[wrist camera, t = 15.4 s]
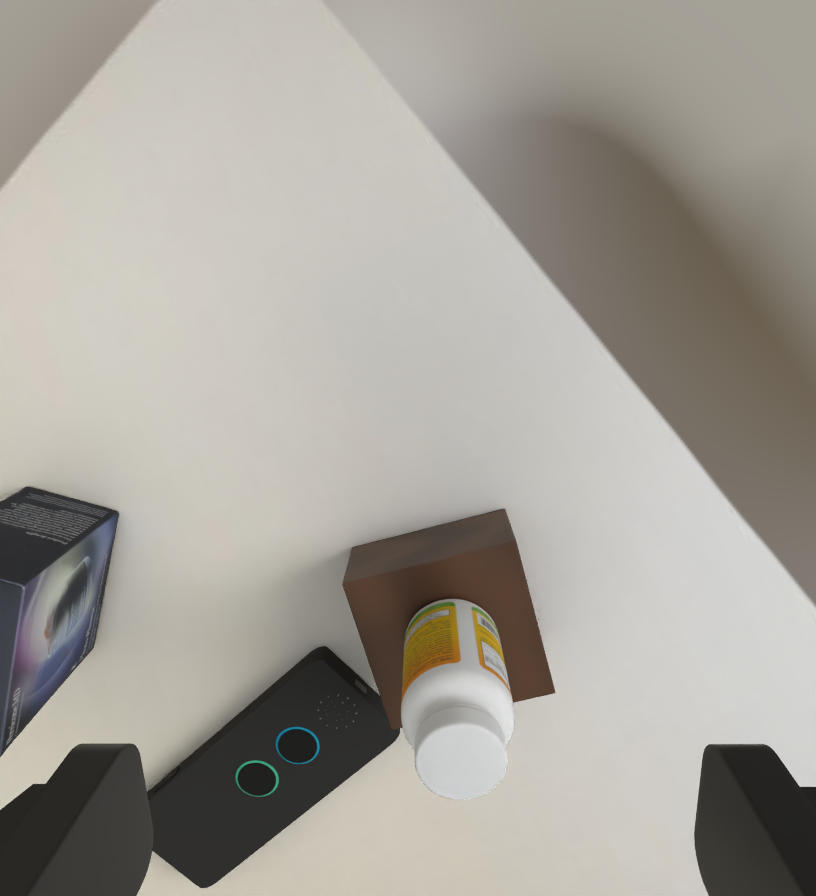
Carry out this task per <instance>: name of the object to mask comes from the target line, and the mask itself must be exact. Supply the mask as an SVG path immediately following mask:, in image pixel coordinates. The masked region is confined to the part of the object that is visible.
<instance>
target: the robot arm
mask: <svg viewBox="0 0 816 896" xmlns="http://www.w3.org/2000/svg"><path fill="white" fill-rule="evenodd" d="M694 837H695V850H696V856H697V861H698V866H699V870H700V873H701V877H702V880H703V883H704V885H705V888H706V890H707V892H708V895H709V896H816V787H799V785H798V784H797V782H796V781H795V780H794V778H793V777H792V775H791V774H790V772H789V771H788V770H787V768H786V767H785V765H784V764H783V763H782V761H781V760H780V758H779V757H778V755H777V754H776V753H775V752H774V750H773V749H772V748H770V747H769V746H767V745H764V744H710V745H708V746H706V748H705V750H704V753H703V759H702V768H701V777H700V786H699V795H698V804H697V813H696V822H695V833H694ZM152 848H153V824H152V818H151V812H150V807H149V801H148V796H147V790H146V785H145V779H144V774H143V768H142V763H141V757H140V753H139V750H138V748H137V747H136V746H135V745H134V744H79V745H77V746H76V747H74V748H73V749H72V750H71V751H70V752H69V754H68V755H67V756H66V758H65V759H64V760H63V762H62V763H61V764H60V766H59V767H58V768H57V770H56V771H55V772H54V774H53V775H52V776H51V778H50V779H49V780H48V782H47V783H46V784H33V785H32V786H30V787H29V788H28V789H26V790H25V791H24V792H23V793H21V794H20V795H19V796H18V797H16V798H15V799H14V800H13V801H11V802H10V803H9V804H7V805H6V806H5V807H4V808H2V809H1V810H0V896H136V895H137V893H138V891H139V889H140V887H141V885H142V883H143V880H144V878H145V876H146V873H147V870H148V866H149V863H150V859H151V854H152Z"/></svg>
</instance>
